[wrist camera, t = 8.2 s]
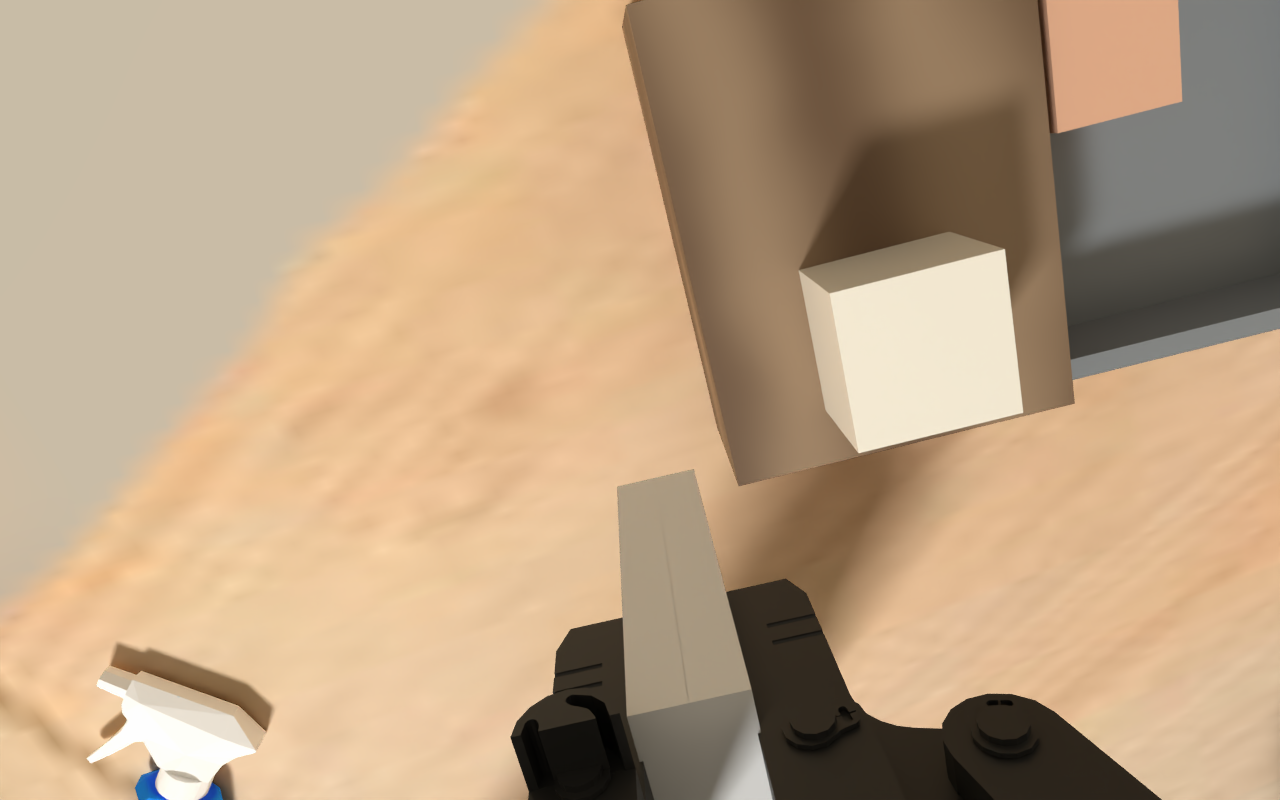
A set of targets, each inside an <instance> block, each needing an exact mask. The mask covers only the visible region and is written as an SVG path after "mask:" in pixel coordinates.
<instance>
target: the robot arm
mask: <svg viewBox="0 0 1280 800" xmlns="http://www.w3.org/2000/svg"><path fill="white" fill-rule="evenodd" d="M617 494H618V518H619V542H620V566H621V590H622V613H623V618H619V619H614V620H610V621H605V622H601V623H596V624H592V625H587V626H583V627H578V628H574V629H571V630H570V631H569V633H568V634H567V636H566V637H565V639H564V640H563V642H562V643H561V645H560V647H559V648H558V650H557V651H556V662H555V678H554V686H553V695H550V696H547V697H545V698H544V699H542V700H541V701H539V702H538V703H536V704H535V705H533V706H531V707H530V708H529V709H528V710H527V711H526V712H525V713H524V714H523V716H522V717H521V718H520V719H519V720H518V721H517V722H516V725H515V727H514V730H513V732H512V735H511V740H512V743H513V746H514V749H515V752H516V755H517V758H518V761H519V764H520V767H521V769H522V772H523V775H524V778H525V781H526V784H527V787H528V790H529V798H528V800H1162V799H1160V798H1159V797H1158V796H1157V795H1155V794H1154V793H1153V792H1152V791H1151V790H1149V789H1148V788H1147V787H1146V786H1144V785H1143V784H1142V783H1141V782H1140V781H1138V780H1137V779H1136V778H1135V777H1133V776H1132V775H1131V774H1130V773H1129V772H1127V771H1126V770H1125V769H1124V768H1122V767H1121V766H1120V765H1119V764H1118V763H1116V762H1115V761H1114V760H1113V759H1111V758H1110V757H1109V756H1108V755H1107V754H1105V753H1104V752H1103V751H1102V750H1100V749H1099V748H1098V747H1097V746H1096V745H1094V744H1093V743H1092V742H1091V741H1090V740H1088V739H1087V738H1086V737H1085V736H1083V735H1082V734H1081V733H1080V732H1079V731H1077V730H1076V729H1075V728H1074V727H1072V726H1071V725H1070V724H1069V723H1068V722H1066V721H1065V720H1064V719H1063V718H1061V717H1060V716H1059V715H1058V714H1057V713H1055V712H1054V711H1052V710H1050V709H1049V708H1047V707H1045V706H1044V705H1042V704H1040V703H1038V702H1037V701H1035V700H1031V699H1028V698H1024V697H1020V696H1017V695H1013V694H985V695H981V696H977V697H973V698H969V699H966V700H965V701H963V702H961V703H960V704H958V705H957V706H955V707H954V708H952V709H951V710H950V712H949V713H948V715H947V717H946V718H945V720H944V722H943V723H942V729H933V728H911V727H902V726H896V725H892V724H889V723H885V722H882V721H880V720H878V719H876V718H874V717H872V716H870V715H868V714H867V713H865V711H864V710H863V709H862V708H861V706H860V705H859V704H858V703H856V702H854V700H853V699H852V697H851V695H850V693H849V691H848V689H847V686H846V684H845V682H844V679H843V677H842V675H841V673H840V670H839V668H838V666H837V663H836V661H835V659H834V656H833V654H832V652H831V649H830V647H829V645H828V642H827V640H826V638H825V636H824V634H823V632H822V629H821V626H820V624H819V622H818V619H817V617H816V616H815V612H814V610H813V608H812V605H811V603H810V601H809V598H808V596H807V594H806V593H805V592H804V591H802V590H801V589H800V588H798V587H797V586H795V585H794V584H793V583H791V582H790V581H788V580H787V579H783V580H778V581H774V582H769V583H765V584H760V585H756V586H751V587H747V588H742V589H738V590H733V591H729V592H726V590H725V587H724V583H723V579H722V575H721V571H720V568H719V564H718V560H717V556H716V552H715V549H714V545H713V541H712V537H711V533H710V530H709V526H708V522H707V518H706V514H705V511H704V507H703V503H702V499H701V495H700V492H699V488H698V484H697V480H696V476H695V473H694V469H693V470H688V471H684V472H680V473H675V474H671V475H667V476H662V477H658V478H653V479H649V480H645V481H640V482H636V483H632V484H627V485H623V486H618V487H617Z"/></svg>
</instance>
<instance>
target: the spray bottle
mask: <svg viewBox="0 0 1280 800" xmlns="http://www.w3.org/2000/svg"><path fill="white" fill-rule="evenodd" d="M96 686H97V687H99V688H101V689H104V690H106V691H108V692H110V693H113V694H115V695H117V696H119V697H121V698H124V699H123V702H122V714H123V715H124V716H125V718H126V719H127V721H126V723H125V724H124V726H123V727H122V728H121V729H120V730H119V731H118V732H117V733H116V734H115V735H113V736H112V737H111V738H110V739H109V740H108V741H107V742H106V743H105V744H104V745H102V746H101V747H99V748H98V749H96V750H95V751H94V752H92V753H91V754H90V755H89V757H88V758H87V760H88V761H89V762H90V763H92V762H95V761H97V760H99V759H102V758H104V757H106V756H109V755H111V754H113V753H115V752H116V751H118V750H120V749H122V748H124V747H126V746H128V745H130V744H132V743H133V742H144V744H145V745H146V747H147V749H148V751H149V752H150V754H151V756H152V758H153V759H154V761H155V763H156V765H157V766H158V767H160V769H158V770H155V771H152V772H149V773H147V774H144V775H141V777H140V779H139V781H138V783H137V785H136V787H135V789H136V793H137V796H138V800H223V798H222V794H221V790H220V787H218V786H217V785H215V784H214V783H212V781H213V778H214V776H215V774H216V773H217V771H218V770H219V769H220V768H221V766H222V765H224V764H226V763H228V762H229V761H231V760H233V759H234V758H236V757H240V756H244V755H248V754H252V753H256V751H257V749H258V747H259V745H260V743H261V742H262V740H263V738H264V736H265V734H266V731H265V730H264V729H263V728H262V727H261V726H260V725H259V724H258V723H256V722H255V721H254V720H253V719H252V718H251V717H250V716H249V715H248V714H247V713H246V712H245V711H244V710H243V709H242V708H240V707H239V706H238V705H235V704H232V703H230V702H227V701H224V700H221V699H219V698H216V697H213V696H210V695H207V694H205V693H202V692H199V691H196V690H194V689H191V688H188V687H185V686H182V685H180V684H177V683H174V682H171V681H169V680H166V679H163V678H160V677H157V676H155V675H152V674H149V673H146V672H144V671H140V672H139V673H138V674H137V675H136V674H133V673H130V672H127V671H124V670H121V669H118V668H115V667H113V666H110V665H109V667H108V668H107V669H106V670H105V671H104V672H103V674H102V676H101V677H100V679H99V681H98V683H97V685H96Z"/></svg>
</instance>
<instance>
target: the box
mask: <svg viewBox="0 0 1280 800" xmlns="http://www.w3.org/2000/svg"><path fill="white" fill-rule="evenodd" d="M1178 10H1179V34H1180V58H1181V82H1182V102H1178V103H1174V104H1170V105H1166V106H1162V107H1159V108H1155V109H1151V110H1147V111H1143V112H1139V113H1135V114H1131V115H1127V116H1124V117H1120V118H1116V119H1112V120H1108V121H1104V122H1100V123H1096V124H1092V125H1089V126H1085V127H1081V128H1077V129H1073V130H1069V131H1065V132H1061V133H1050V142H1051V153H1052V164H1053V175H1054V185H1055V196H1056V207H1057V218H1058V229H1059V240H1060V250H1061V261H1062V272H1063V283H1064V294H1065V305H1066V316H1067V326H1068V337H1069V348H1070V359H1071V370H1072V380H1074V379H1078V378H1082V377H1087V376H1091V375H1095V374H1099V373H1103V372H1107V371H1111V370H1115V369H1119V368H1123V367H1127V366H1131V365H1135V364H1139V363H1143V362H1147V361H1151V360H1155V359H1159V358H1163V357H1167V356H1171V355H1175V354H1179V353H1183V352H1188V351H1192V350H1196V349H1200V348H1204V347H1208V346H1212V345H1216V344H1220V343H1224V342H1228V341H1232V340H1236V339H1240V338H1244V337H1248V336H1252V335H1256V334H1260V333H1264V332H1268V331H1272V330H1276V329H1280V0H1178Z"/></svg>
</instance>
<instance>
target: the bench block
mask: <svg viewBox="0 0 1280 800" xmlns="http://www.w3.org/2000/svg"><path fill="white" fill-rule="evenodd" d="M622 28H623V32H624V37H625V41H626V45H627V49H628V53H629V58H630V62H631V66H632V70H633V74H634V79H635V83H636V87H637V91H638V95H639V100H640V104H641V108H642V112H643V117H644V121H645V125H646V129H647V133H648V138H649V142H650V146H651V150H652V154H653V159H654V163H655V167H656V171H657V175H658V180H659V184H660V188H661V192H662V197H663V201H664V205H665V209H666V213H667V218H668V222H669V226H670V230H671V234H672V239H673V243H674V247H675V251H676V255H677V260H678V264H679V268H680V272H681V277H682V281H683V285H684V289H685V293H686V298H687V302H688V306H689V310H690V314H691V319H692V323H693V327H694V331H695V335H696V340H697V344H698V348H699V352H700V357H701V361H702V365H703V369H704V373H705V378H706V382H707V386H708V390H709V394H710V399H711V403H712V407H713V411H714V416H715V420H716V424H717V428H718V431H719V434H720V436H721V439H722V442H723V444H724V447H725V450H726V453H727V455H728V458H729V461H730V463H731V466H732V469H733V472H734V474H735V477H736V480H737V483H738V485H739V486H742V485H746V484H750V483H754V482H758V481H762V480H766V479H770V478H774V477H778V476H782V475H786V474H790V473H794V472H798V471H802V470H807V469H811V468H815V467H819V466H823V465H827V464H831V463H835V462H839V461H843V460H847V459H851V458H855V457H859V456H863V455H867V454H872V453H876V452H880V451H884V450H888V449H892V448H896V447H900V446H904V445H908V444H912V443H916V442H920V441H924V440H928V439H932V438H936V437H941V436H945V435H949V434H953V433H957V432H961V431H965V430H969V429H973V428H977V427H981V426H985V425H989V424H993V423H997V422H1001V421H1005V420H1010V419H1014V418H1018V417H1022V416H1026V415H1030V414H1034V413H1038V412H1042V411H1046V410H1050V409H1054V408H1058V407H1062V406H1066V405H1070V404H1074V403H1075V402H1074V391H1073V381H1072V370H1071V359H1070V348H1069V337H1068V326H1067V316H1066V305H1065V294H1064V283H1063V272H1062V261H1061V250H1060V240H1059V229H1058V218H1057V207H1056V196H1055V185H1054V175H1053V164H1052V153H1051V142H1050V131H1049V120H1048V110H1047V99H1046V88H1045V77H1044V66H1043V55H1042V44H1041V34H1040V23H1039V12H1038V1H1037V0H643V1H639V2H635V3H631V4H628V5H626V8H625V14H624V20H623V26H622ZM946 232H952V233H956V234H959V235H962V236H965V237H968V238H972V239H975V240H978V241H981V242H984V243H987V244H991V245H994V246H997V247H1000V248H1003V249H1005V255H1006V264H1007V273H1008V282H1009V291H1010V299H1011V308H1012V317H1013V326H1014V335H1015V344H1016V352H1017V361H1018V370H1019V379H1020V388H1021V397H1022V405H1023V413H1020V414H1016V415H1012V416H1008V417H1004V418H1000V419H996V420H992V421H988V422H984V423H980V424H976V425H972V426H968V427H963V428H959V429H955V430H951V431H947V432H943V433H939V434H935V435H931V436H927V437H923V438H919V439H915V440H911V441H907V442H903V443H899V444H895V445H890V446H886V447H882V448H878V449H874V450H870V451H866V452H862V453H858V452H857V451H856V449H855V448H854V447H853V445H852V444H851V443H850V441H849V440H848V439H847V437H846V436H845V435H844V434H843V432H842V431H841V430H840V428H839V427H838V426H837V424H836V423H835V422H834V421H833V419H832V418H831V417H830V415H829V414H828V413H827V411H826V410H825V404H824V399H823V394H822V389H821V384H820V378H819V373H818V368H817V363H816V358H815V352H814V347H813V342H812V337H811V332H810V326H809V321H808V316H807V311H806V306H805V300H804V295H803V290H802V285H801V280H800V274H799V270H801V269H805V268H809V267H813V266H817V265H821V264H825V263H829V262H833V261H836V260H840V259H844V258H848V257H852V256H856V255H860V254H864V253H868V252H872V251H875V250H879V249H883V248H887V247H891V246H895V245H899V244H903V243H907V242H911V241H914V240H918V239H922V238H926V237H930V236H934V235H938V234H942V233H946Z"/></svg>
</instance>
